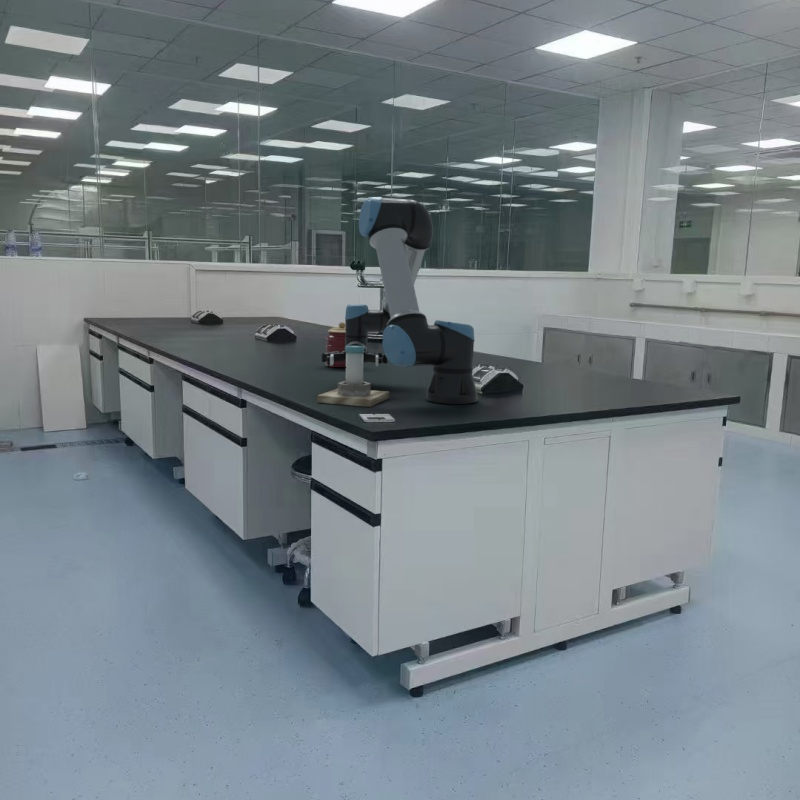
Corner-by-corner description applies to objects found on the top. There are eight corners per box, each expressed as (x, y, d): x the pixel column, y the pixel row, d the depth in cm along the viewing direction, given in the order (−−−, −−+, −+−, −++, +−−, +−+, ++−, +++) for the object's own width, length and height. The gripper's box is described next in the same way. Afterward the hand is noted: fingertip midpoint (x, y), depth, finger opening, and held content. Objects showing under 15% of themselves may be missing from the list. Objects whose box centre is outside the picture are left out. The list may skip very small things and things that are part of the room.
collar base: (388, 398, 211) (389, 381, 210) (370, 406, 196) (370, 388, 195) (339, 394, 216) (339, 378, 215) (317, 402, 201) (317, 384, 200)
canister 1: (353, 368, 277) (354, 323, 274) (321, 367, 279) (321, 322, 276) (360, 365, 290) (361, 321, 287) (330, 363, 292) (330, 320, 289)
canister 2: (366, 392, 207) (366, 346, 205) (359, 395, 202) (360, 347, 200) (348, 391, 209) (349, 345, 207) (341, 394, 204) (342, 346, 202)
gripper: (393, 366, 233) (395, 374, 212) (317, 364, 231) (311, 373, 211) (393, 343, 231) (396, 349, 211) (317, 341, 230) (312, 347, 209)
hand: (354, 361), depth 211 cm, fingers open, 13 cm apart
